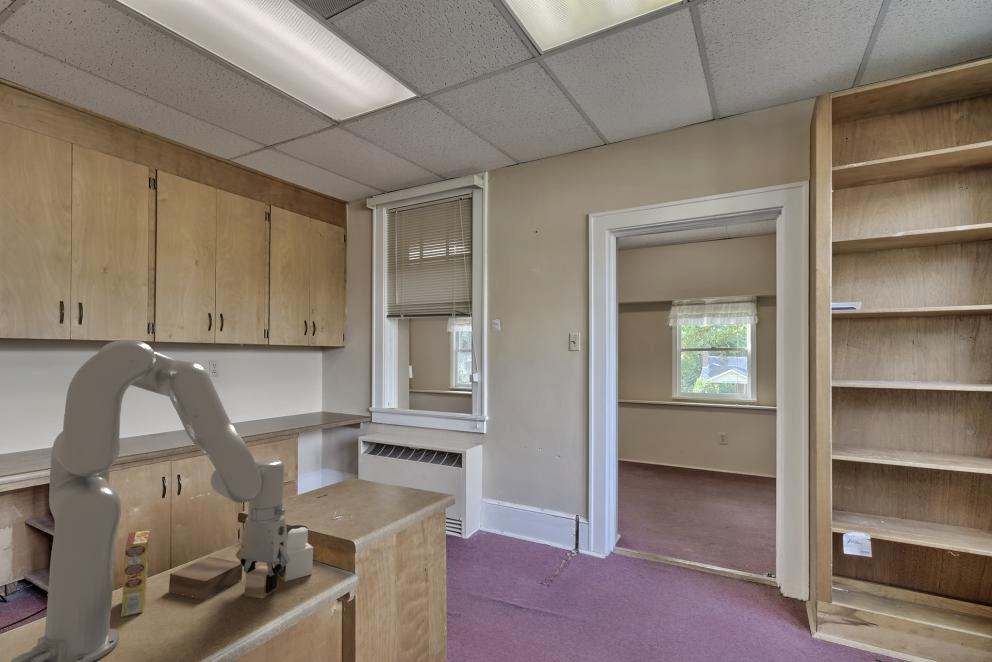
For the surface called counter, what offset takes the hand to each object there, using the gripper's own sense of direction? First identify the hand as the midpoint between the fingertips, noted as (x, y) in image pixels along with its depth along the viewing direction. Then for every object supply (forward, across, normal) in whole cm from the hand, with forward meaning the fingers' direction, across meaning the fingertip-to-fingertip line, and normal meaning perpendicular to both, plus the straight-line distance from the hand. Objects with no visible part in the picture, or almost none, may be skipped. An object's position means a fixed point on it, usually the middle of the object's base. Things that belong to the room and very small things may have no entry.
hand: (261, 587), depth 117 cm
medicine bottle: (+1, -1, -11) cm, 11 cm away
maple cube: (+1, 0, 0) cm, 1 cm away
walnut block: (+1, +15, +1) cm, 15 cm away
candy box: (+1, +22, +14) cm, 26 cm away
